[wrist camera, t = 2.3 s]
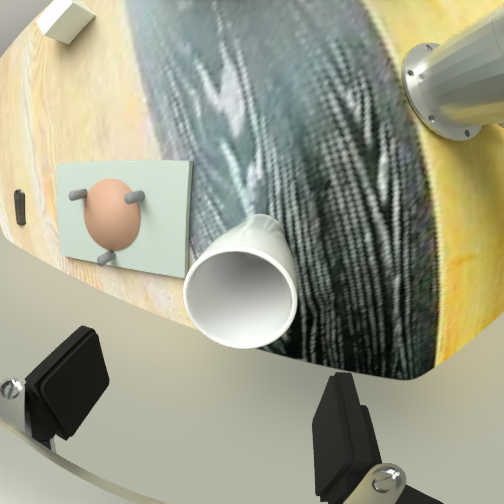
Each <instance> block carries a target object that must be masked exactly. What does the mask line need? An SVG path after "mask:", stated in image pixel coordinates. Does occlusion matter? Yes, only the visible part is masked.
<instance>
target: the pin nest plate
mask: <svg viewBox="0 0 504 504" xmlns="http://www.w3.org/2000/svg"><path fill="white" fill-rule="evenodd" d="M192 169H193V161H171V160H118V161H91V162H75V163H62V164H57V217H58V232H59V243H60V252H61V255H62V256H66V257H71V258H76V259H81V260H86V261H91V262H96V263H98V264H99V265H100V266H103V265H105V264H106V265H111V266H117V267H122V268H127V269H133V270H138V271H144V272H150V273H156V274H161V275H167V276H173V277H180V278H185V277H186V276H187V274H188V246H189V219H190V199H191V183H192Z"/></svg>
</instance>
